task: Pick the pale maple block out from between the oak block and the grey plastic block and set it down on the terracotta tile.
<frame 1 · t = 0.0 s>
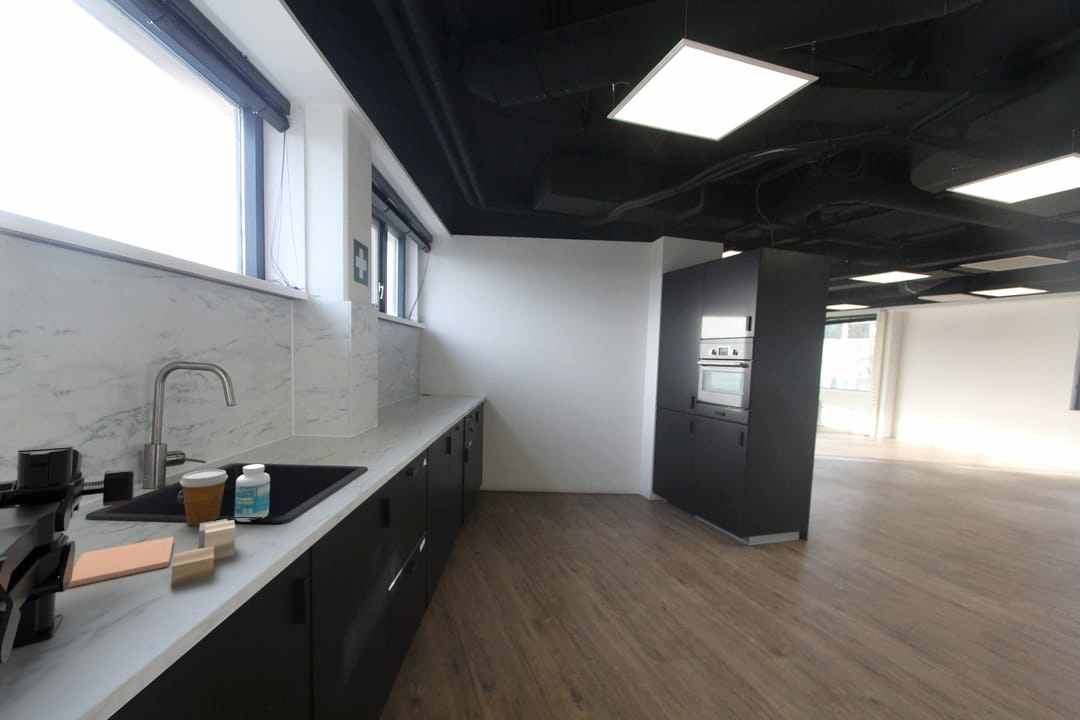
hand: (74, 482, 81), 17 cm above the counter, tool horizontal, fingers open, 9 cm apart
pill bottle: (251, 518, 108), on the counter
oak block: (193, 576, 79), on the counter
maple block: (219, 554, 88), on the counter
terracotta tile: (125, 561, 83), on the counter
disposable coffee cup: (203, 521, 105), on the counter
grey plastic block: (213, 542, 94), on the counter
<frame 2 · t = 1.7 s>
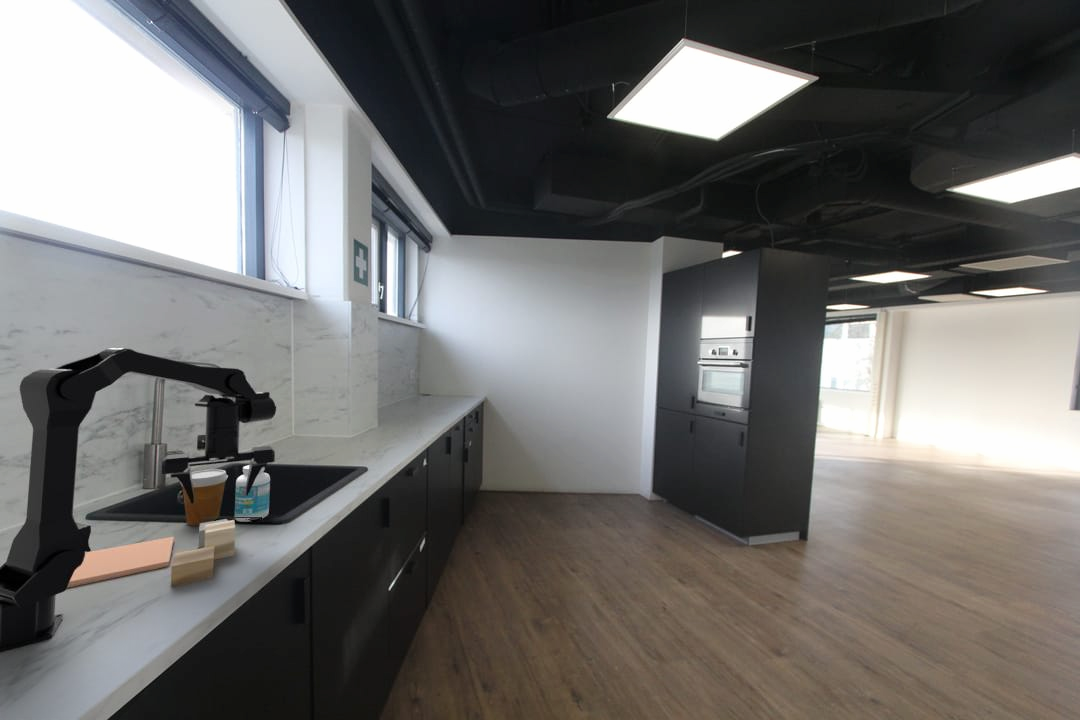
hand: (220, 498, 88), 12 cm above the counter, tool pointing down, fingers open, 9 cm apart
nothing on the counter moved.
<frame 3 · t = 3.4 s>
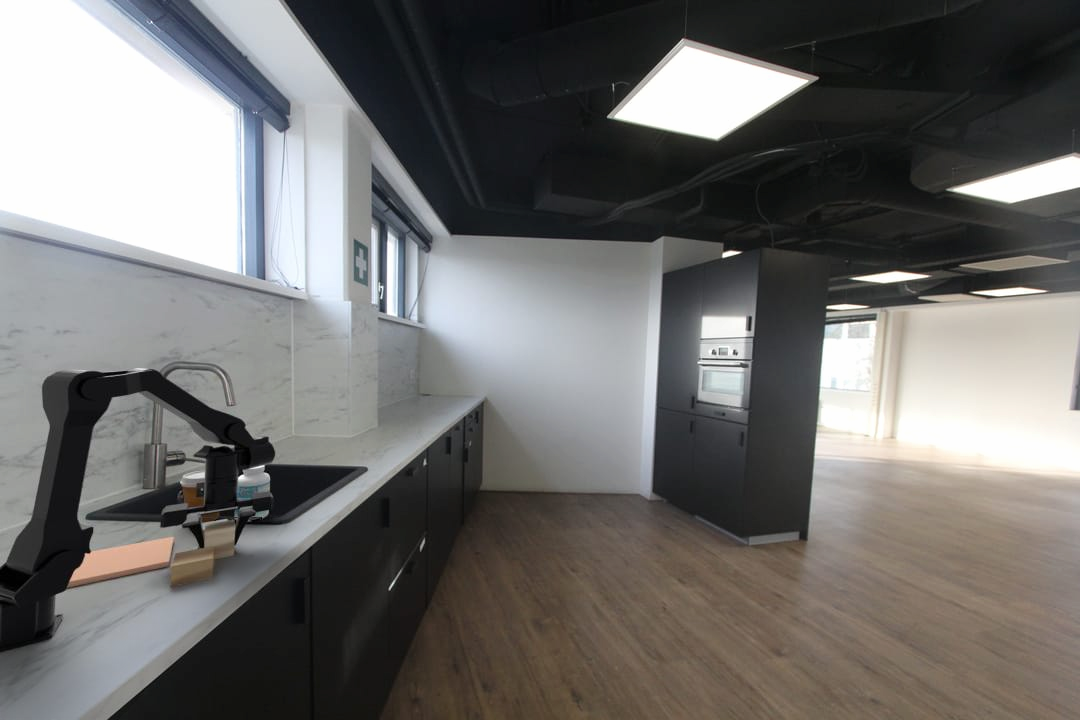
hand: (219, 547, 88), 1 cm above the counter, tool pointing down, fingers closed on maple block, 5 cm apart
maple block: (218, 553, 88), on the counter, touching gripper
everything else where it was.
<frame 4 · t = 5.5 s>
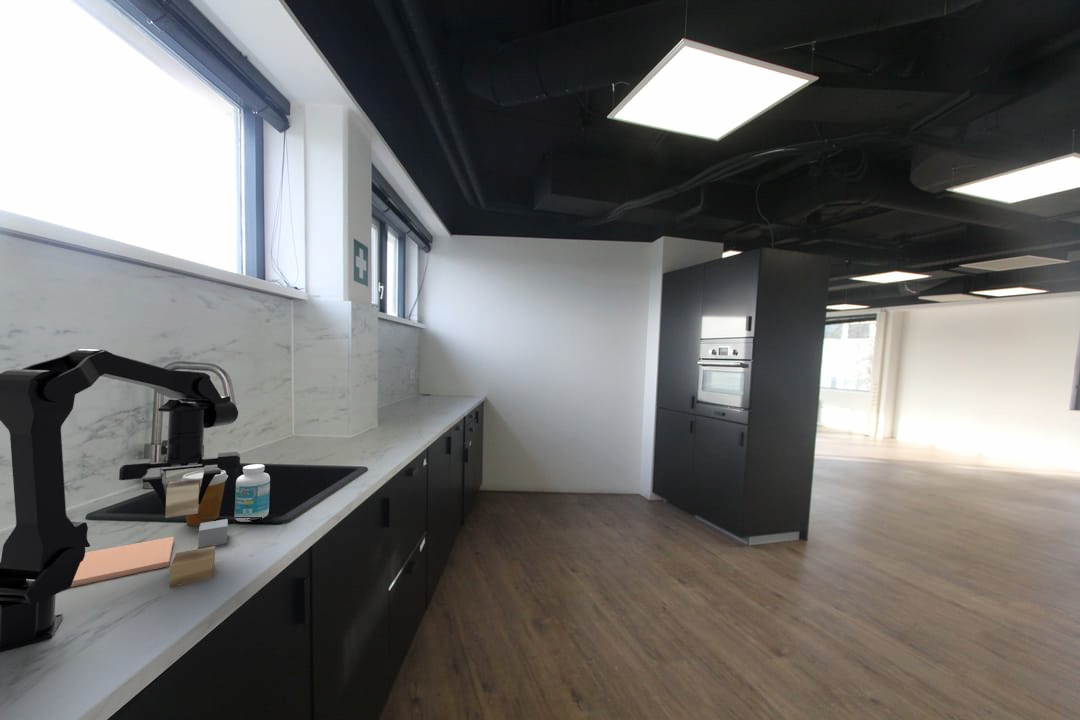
hand: (182, 506, 86), 11 cm above the counter, tool pointing down, fingers closed on maple block, 5 cm apart
maple block: (182, 511, 86), point 9 cm above the counter, touching gripper
everything else where it was.
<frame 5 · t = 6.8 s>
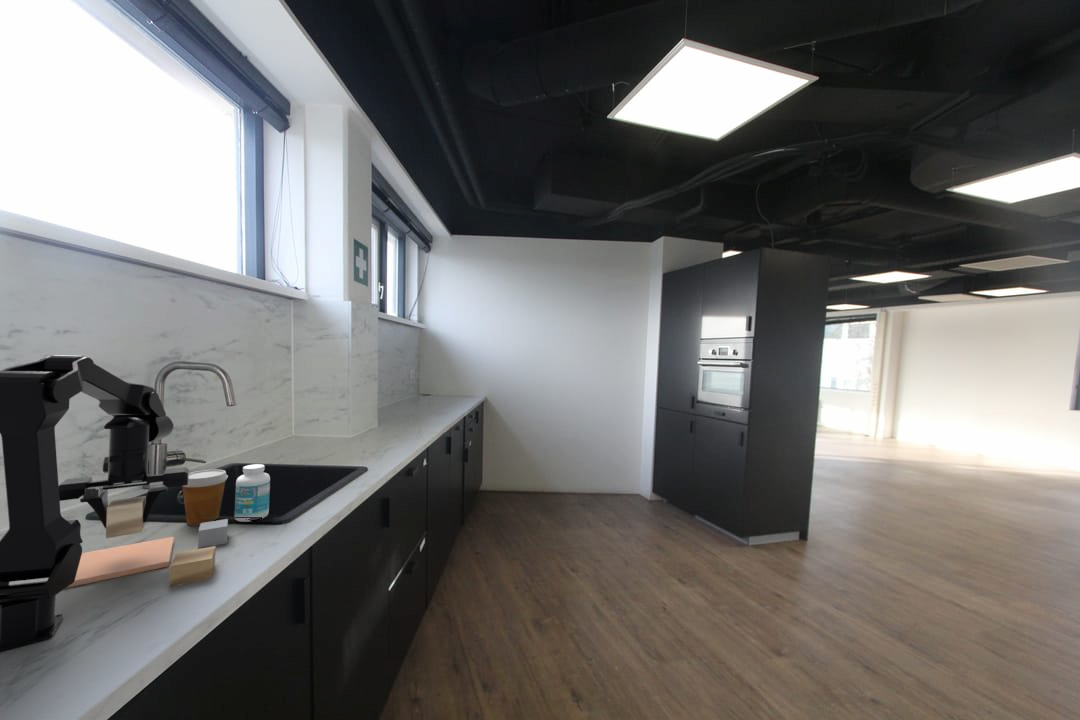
hand: (126, 525, 83), 8 cm above the counter, tool pointing down, fingers closed on maple block, 5 cm apart
maple block: (126, 531, 83), point 6 cm above the counter, touching gripper
everything else where it was.
when the fingers open (3 cm above the counter, at t = 7.9 s): maple block stays where it is, resting on terracotta tile.
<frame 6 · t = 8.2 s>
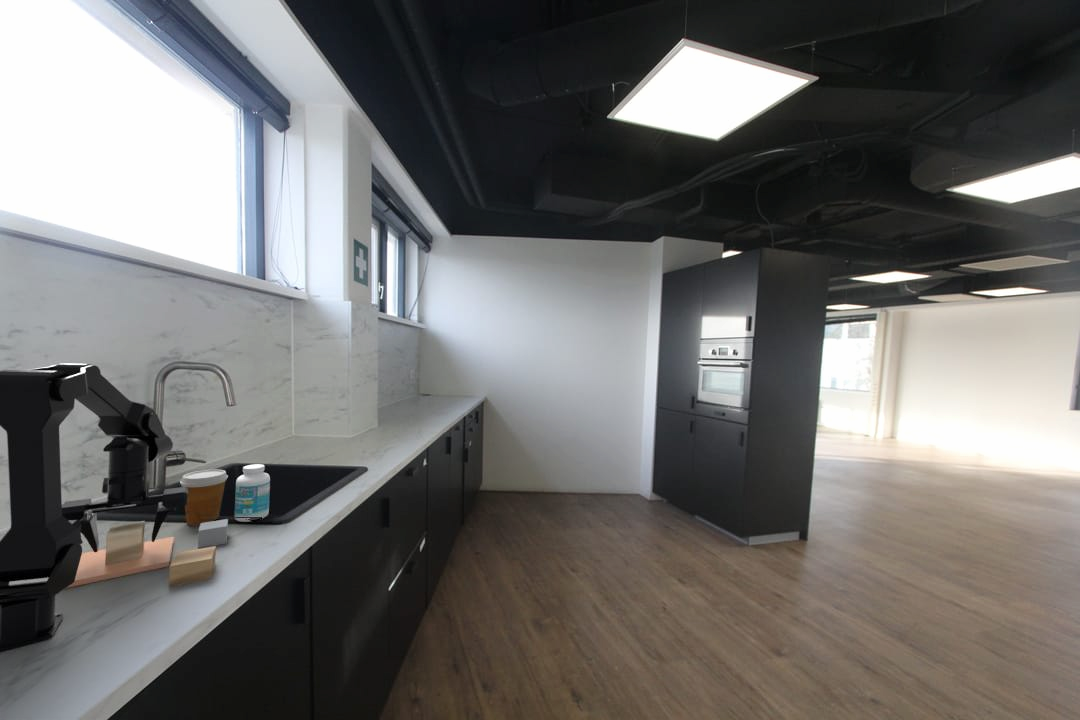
hand: (125, 546, 83), 3 cm above the counter, tool pointing down, fingers open, 8 cm apart
maple block: (125, 556, 83), point 1 cm above the counter, touching terracotta tile
everything else where it was.
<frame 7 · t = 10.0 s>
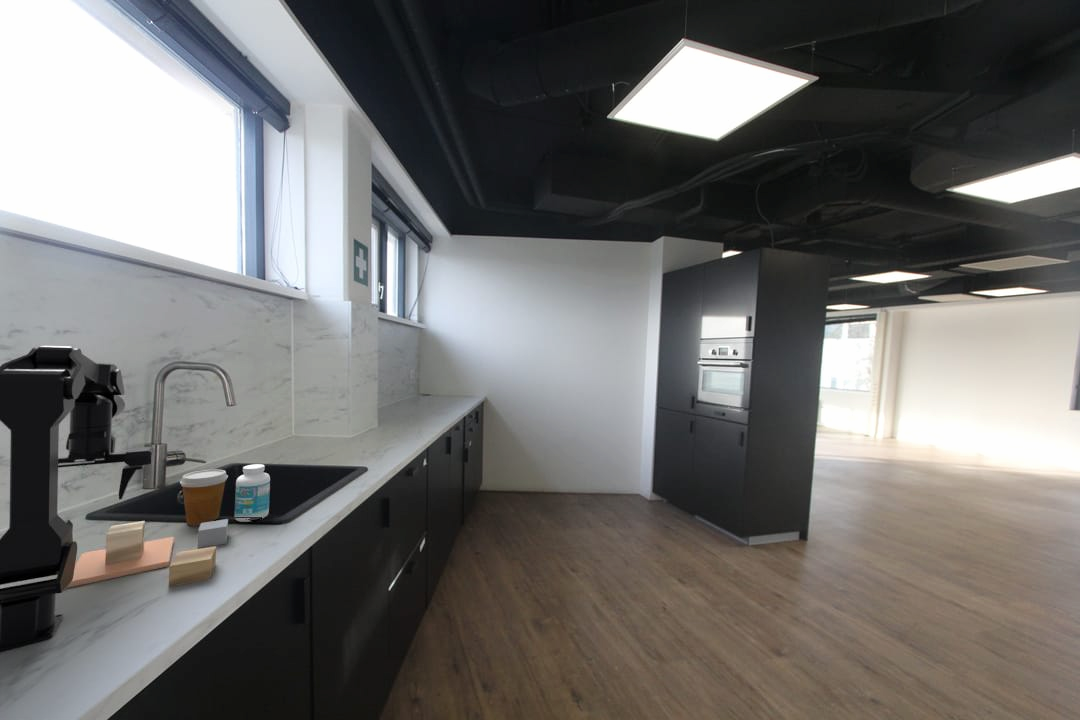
hand: (88, 502, 83), 12 cm above the counter, tool pointing down, fingers open, 9 cm apart
nothing on the counter moved.
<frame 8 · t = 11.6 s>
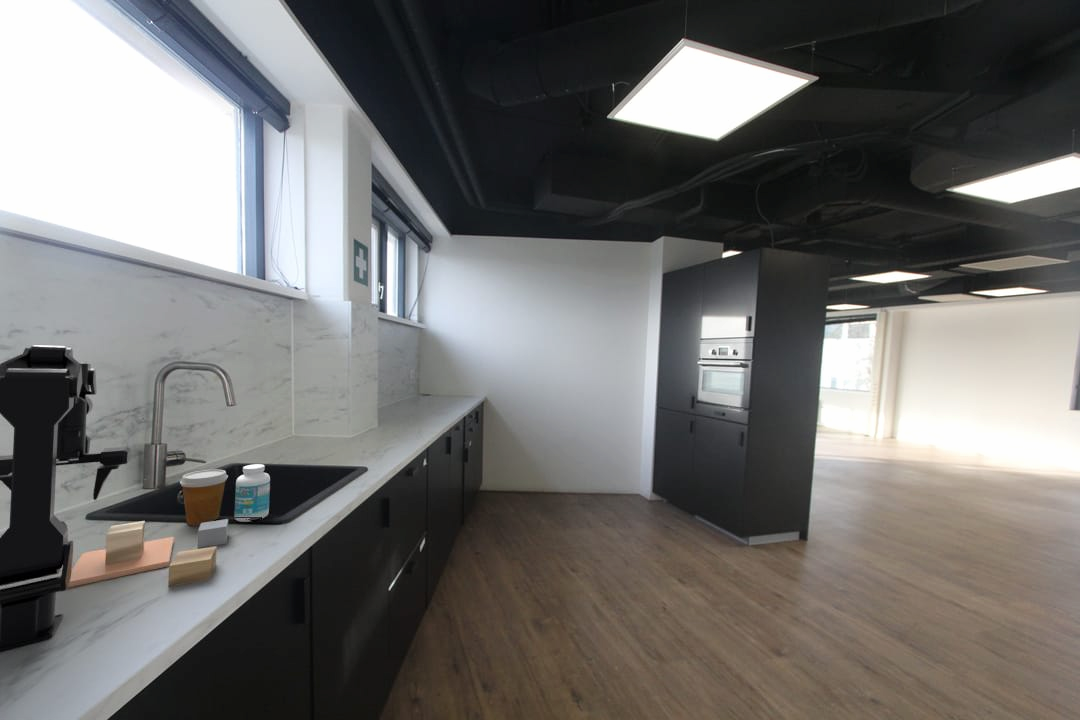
hand: (61, 503, 82), 12 cm above the counter, tool pointing down, fingers open, 9 cm apart
nothing on the counter moved.
at the end: maple block inside the target area on the terracotta tile (0.0 cm from its centre), point 1.0 cm above the terracotta tile's base; maple block tilted 0°; oak block moved 0.2 cm from its start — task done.
